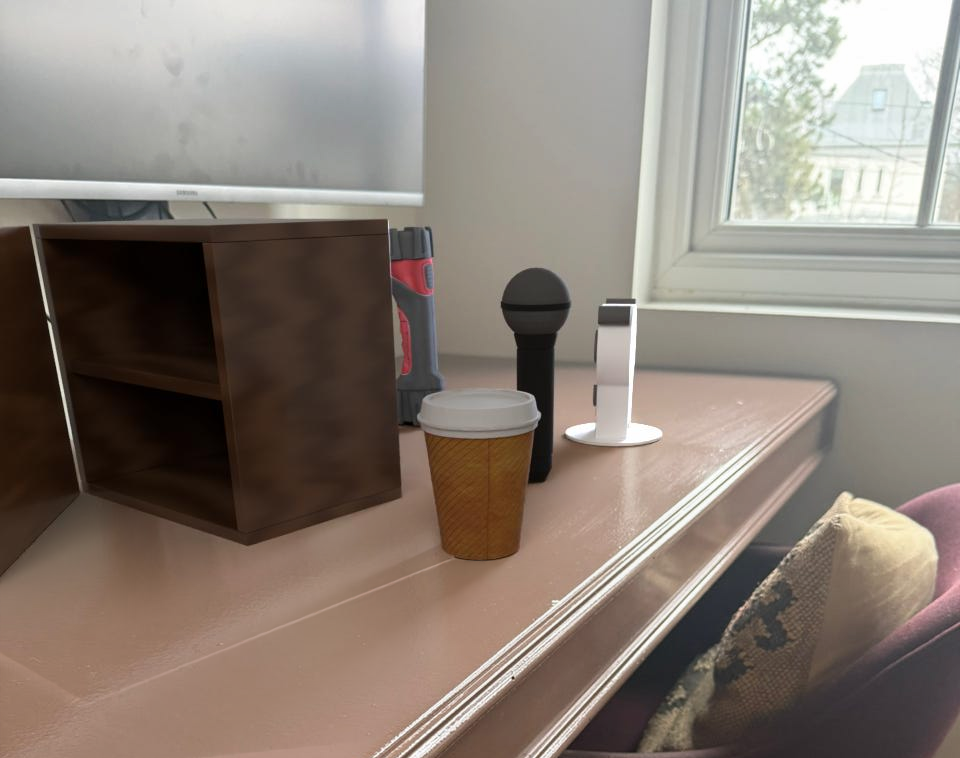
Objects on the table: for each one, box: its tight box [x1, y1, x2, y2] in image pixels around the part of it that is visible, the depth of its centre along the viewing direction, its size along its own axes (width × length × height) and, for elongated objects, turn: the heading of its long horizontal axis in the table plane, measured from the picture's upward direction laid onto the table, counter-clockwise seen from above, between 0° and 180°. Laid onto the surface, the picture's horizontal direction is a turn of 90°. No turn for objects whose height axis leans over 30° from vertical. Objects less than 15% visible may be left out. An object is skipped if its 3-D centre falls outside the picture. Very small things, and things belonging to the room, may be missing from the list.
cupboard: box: [31, 218, 403, 547], centre depth 89 cm, size 18×26×24 cm
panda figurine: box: [565, 297, 663, 447], centre depth 112 cm, size 12×11×15 cm
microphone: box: [500, 267, 572, 484], centre depth 93 cm, size 7×7×20 cm
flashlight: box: [389, 226, 446, 427], centre depth 119 cm, size 8×8×23 cm
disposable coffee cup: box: [417, 387, 541, 561], centre depth 76 cm, size 10×10×12 cm
